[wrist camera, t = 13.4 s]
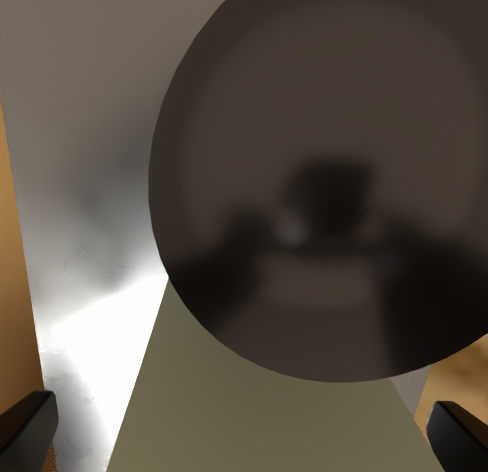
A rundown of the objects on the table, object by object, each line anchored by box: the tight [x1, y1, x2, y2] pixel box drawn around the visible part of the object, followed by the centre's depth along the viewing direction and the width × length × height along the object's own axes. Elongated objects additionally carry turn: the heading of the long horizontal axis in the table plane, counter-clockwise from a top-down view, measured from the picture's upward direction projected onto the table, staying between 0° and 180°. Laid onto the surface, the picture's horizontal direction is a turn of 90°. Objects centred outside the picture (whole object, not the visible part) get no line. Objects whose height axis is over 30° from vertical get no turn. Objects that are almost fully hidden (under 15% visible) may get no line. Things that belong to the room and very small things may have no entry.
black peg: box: [148, 0, 488, 383], centre depth 6 cm, size 4×4×6 cm
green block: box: [106, 278, 445, 472], centre depth 8 cm, size 4×4×6 cm
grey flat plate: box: [0, 0, 431, 472], centre depth 12 cm, size 12×20×2 cm, turn 175°
